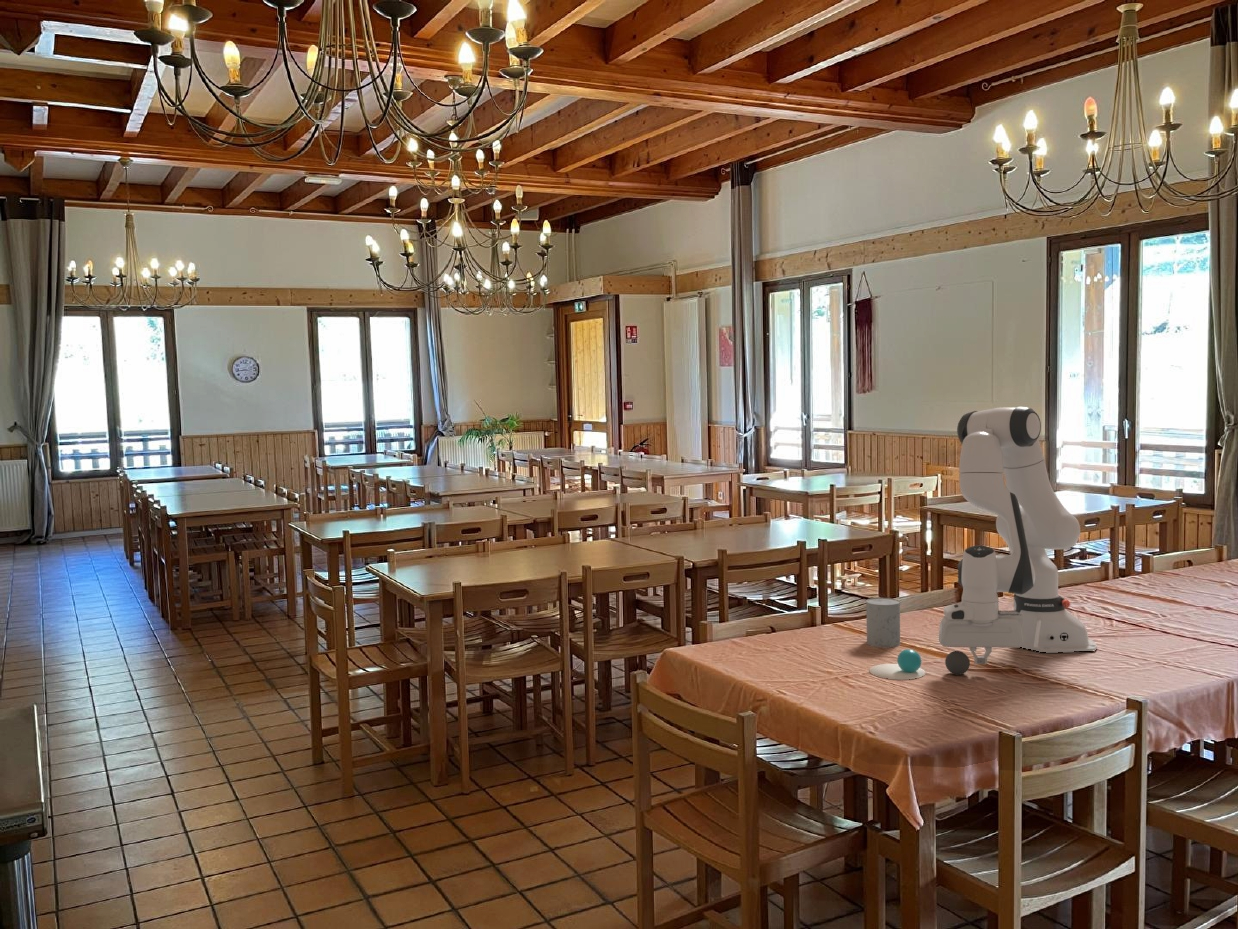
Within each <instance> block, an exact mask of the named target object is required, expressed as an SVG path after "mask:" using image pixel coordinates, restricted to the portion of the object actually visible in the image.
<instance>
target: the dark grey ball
mask: <svg viewBox="0 0 1238 929" xmlns="http://www.w3.org/2000/svg"><path fill="white" fill-rule="evenodd" d="M944 664H945V667H946V669H947V670H948V671H949V672H950V673H952V674H953V675H956V674H957V675H958V676H959V675H964V674H965V673H967V671H969V669H970V666H971V661H970V658H969V656H968V655H967V654H966V653H964V652H962V651H961V650H960V651H959V650H954V651H951V652H949V653H948V654H947V656H946V657H945V662H944ZM957 675H956V676H957Z"/></svg>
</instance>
